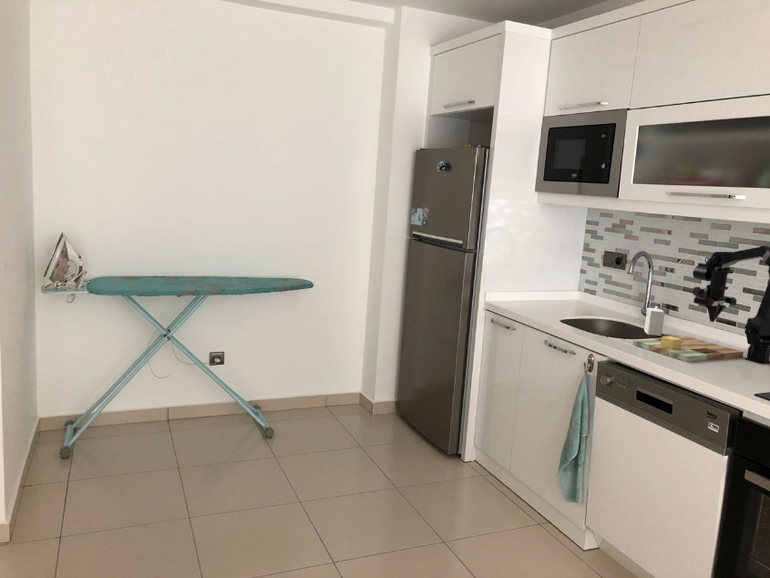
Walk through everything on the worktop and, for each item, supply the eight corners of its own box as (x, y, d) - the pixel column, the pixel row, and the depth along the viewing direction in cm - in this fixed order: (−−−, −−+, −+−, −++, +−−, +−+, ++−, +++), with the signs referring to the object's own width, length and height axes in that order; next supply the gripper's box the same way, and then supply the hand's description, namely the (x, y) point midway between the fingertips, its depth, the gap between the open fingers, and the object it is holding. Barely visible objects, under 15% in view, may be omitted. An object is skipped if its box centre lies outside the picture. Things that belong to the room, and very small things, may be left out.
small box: (661, 336, 265) (665, 312, 263) (647, 334, 266) (651, 310, 264) (657, 332, 272) (660, 308, 271) (643, 331, 273) (647, 307, 272)
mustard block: (680, 348, 235) (682, 339, 234) (671, 349, 232) (673, 340, 232) (669, 345, 239) (670, 336, 239) (660, 345, 237) (661, 336, 236)
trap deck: (742, 356, 238) (743, 351, 237) (686, 362, 223) (687, 356, 223) (687, 341, 259) (688, 336, 258) (632, 344, 244) (633, 339, 244)
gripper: (714, 280, 260) (708, 316, 262) (684, 280, 251) (678, 318, 254) (740, 284, 250) (733, 322, 252) (709, 284, 241) (703, 324, 244)
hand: (711, 321), depth 251 cm, fingers closed
